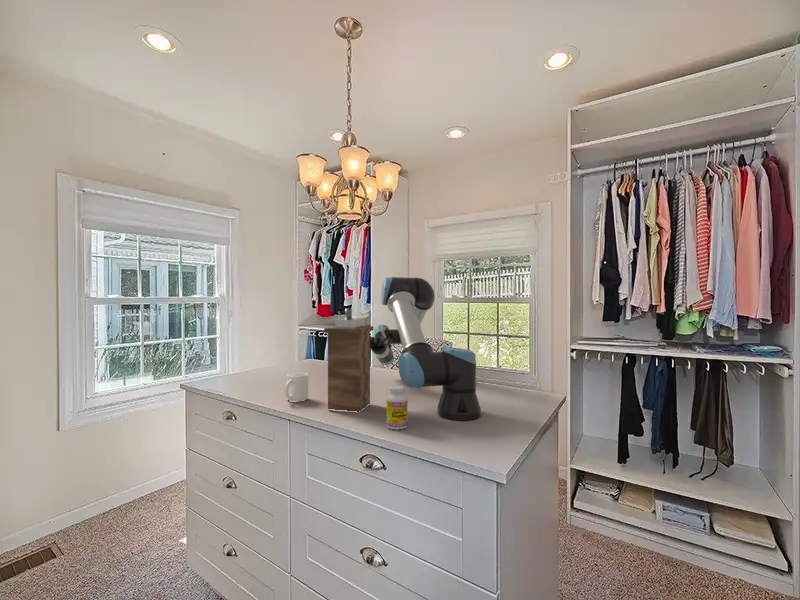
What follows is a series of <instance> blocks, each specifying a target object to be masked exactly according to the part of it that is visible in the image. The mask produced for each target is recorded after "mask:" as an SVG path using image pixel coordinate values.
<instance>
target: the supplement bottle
mask: <svg viewBox="0 0 800 600" xmlns="http://www.w3.org/2000/svg"><path fill="white" fill-rule="evenodd" d="M405 391H406V390H405V385H398V384H396V385H390V386H389V394H387V396H386V427H387V429H389V428H391V429H390V430H392V429H402V430H405V429H407V427H408V402H409V401H408V400H409V399H408V396H407V394H405ZM404 428H405V429H404Z"/></svg>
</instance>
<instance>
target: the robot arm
mask: <svg viewBox="0 0 800 600" xmlns="http://www.w3.org/2000/svg"><path fill="white" fill-rule="evenodd" d="M380 292H381V293H380V295H381V296H380V300H381V304H382V305H383V306H387V309H388V310H389V311H390V312H391V313H393V318H394V320H395V324H396V329H393V328H392V329H390V328H389V326H388V325H386V324H379V325H376V326H375V327H374V328H373V331H374V333H373V334H374V336H371V335H370V351H372V353H373V354H374V356H375V357H376V358H377V360H378V361H379V363H380V364H381V365H384V366H390V365H391V364H393V362H394V361H395V356H394V352H393V351H392V345H402V351H401V353H400V355H399V356H398V362H397V367H398V373H399V377H400V380H401V382H402V383H403V384H404V386H406V387H407V388H418V389H419V388H420V389H421V388H424V387H425V388H427V387H440V386H441V387H442V391H441V395H440V398H439V402H438V405H437V415H438V416H439V417H441V418H444V419H446V420H447V419H448V420H452V421H473V420H475V419H479V418H480V417H481V415H482V410H481V406H480V402H479V399H478V396H477V392H476V390H477V388H476V387H477V385H476V384H477V358H476V353H475V352H474V351H472V350H470V349H465V348H459V347H452V346H450V347H449V346H444V347H442V349H441V351H434V349H433V346H432V344H430V343H429V342H426V338H425V335H424V333H423V331H422V327H421V323H422V322H423V320H424V319H425V316H426V314H427V312H428V311H429V310H431V308H432V307H433V305H434V303H435V298H436V295H435V289H434V288H433V286H432V285H431V284H430V283H429V282H428V281H427V280H426V279H424V278H422V277H401V276H399V277H396V276H392V277H391V276H389V277H385V278H384V279H383V280H382V284H381V291H380Z"/></svg>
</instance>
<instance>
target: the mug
mask: <svg viewBox="0 0 800 600" xmlns="http://www.w3.org/2000/svg"><path fill="white" fill-rule="evenodd" d="M284 395H285V398H286V400H289V401H302V400H306V399H308V400H309V373H307V372H291V373H287V374H286V384H285V386H284Z"/></svg>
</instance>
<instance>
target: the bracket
mask: <svg viewBox="0 0 800 600" xmlns="http://www.w3.org/2000/svg"><path fill="white" fill-rule="evenodd" d="M352 312H353V309H352V308H345V309H344V315H345V318H338V319H335V320H334V324H335V325H334V326H335V328H360V327H364V326H366V325H368V317H354V318H353V313H352Z"/></svg>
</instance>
